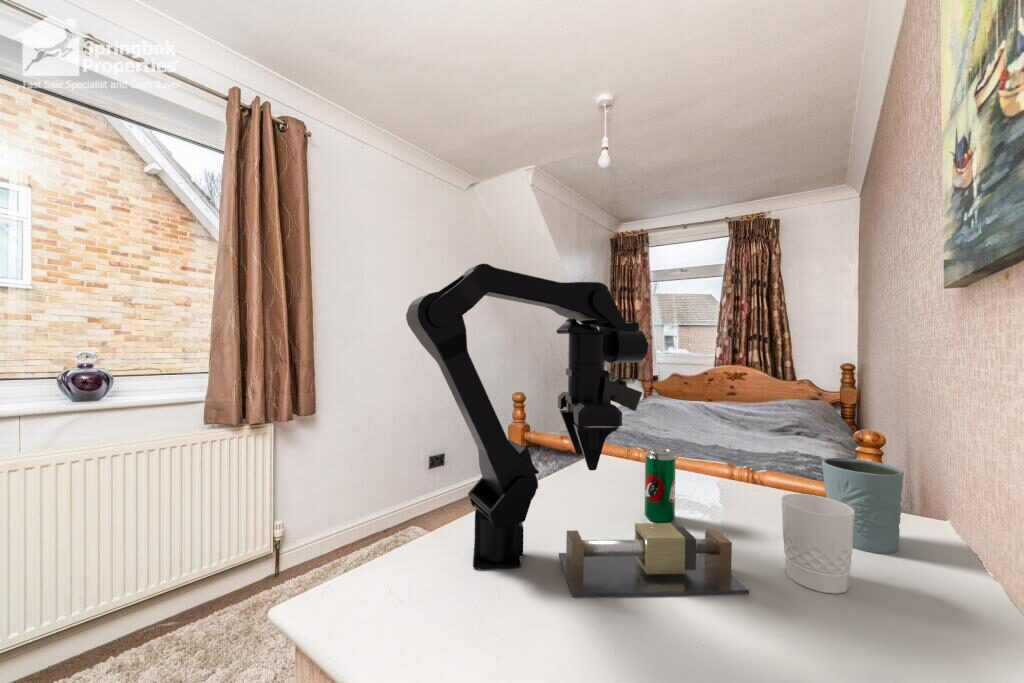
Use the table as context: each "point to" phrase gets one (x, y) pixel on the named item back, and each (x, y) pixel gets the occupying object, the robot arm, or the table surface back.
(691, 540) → the dark grey square collar
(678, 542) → the sleeve
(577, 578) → the pipe rig
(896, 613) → the table surface
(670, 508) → the soda can
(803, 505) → the white cup
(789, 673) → the table surface
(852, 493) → the drinking glass
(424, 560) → the table surface
